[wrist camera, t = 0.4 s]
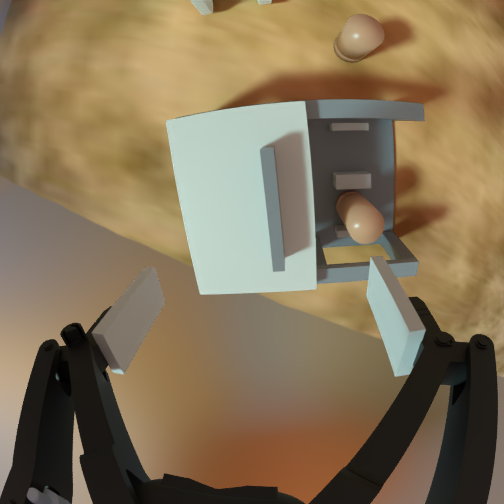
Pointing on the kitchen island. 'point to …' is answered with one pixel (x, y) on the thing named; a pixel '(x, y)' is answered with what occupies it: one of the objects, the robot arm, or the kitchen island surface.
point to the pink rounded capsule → (358, 38)
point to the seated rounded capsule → (360, 217)
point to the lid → (247, 197)
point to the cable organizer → (205, 5)
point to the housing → (355, 176)
